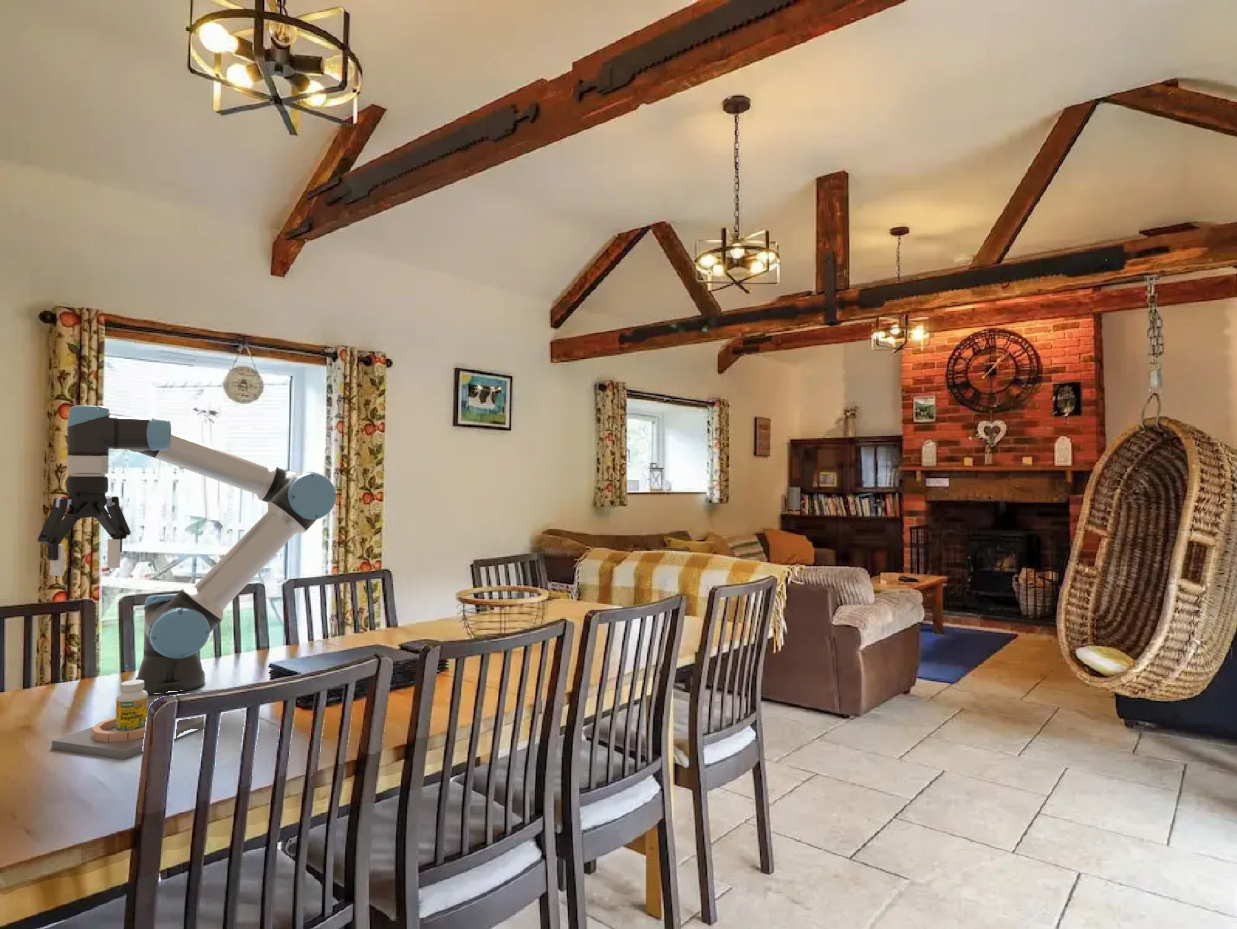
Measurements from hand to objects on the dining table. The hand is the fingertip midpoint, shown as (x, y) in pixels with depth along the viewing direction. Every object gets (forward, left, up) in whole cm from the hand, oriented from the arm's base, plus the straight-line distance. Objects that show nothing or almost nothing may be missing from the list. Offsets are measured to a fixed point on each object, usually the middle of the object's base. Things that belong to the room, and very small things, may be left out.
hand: (86, 571), depth 165 cm
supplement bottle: (+9, +23, -30) cm, 39 cm away
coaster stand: (+9, +23, -31) cm, 40 cm away
